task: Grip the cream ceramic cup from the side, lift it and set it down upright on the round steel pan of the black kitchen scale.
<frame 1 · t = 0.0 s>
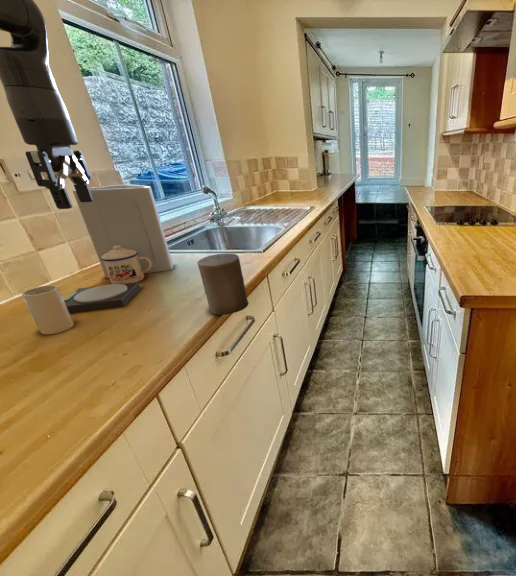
hand: (76, 205, 66), 29 cm above the worktop, tool pointing down, fingers open, 8 cm apart
scale: (101, 300, 90), on the worktop
light grey box: (144, 267, 115), on the worktop
pillar candle: (229, 307, 86), on the worktop
teacup with lid: (134, 280, 104), on the worktop
cup: (57, 327, 76), on the worktop
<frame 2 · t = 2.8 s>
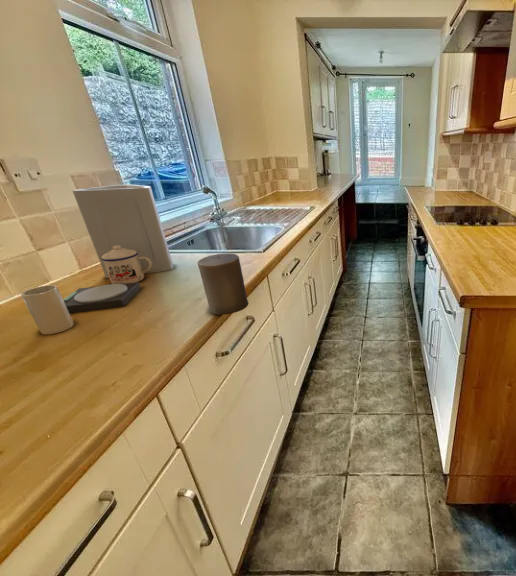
nothing on the worktop moved.
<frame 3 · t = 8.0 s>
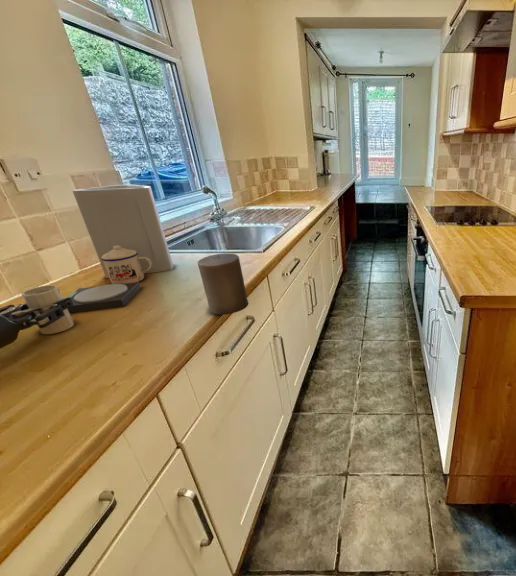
hand: (57, 301, 76), 6 cm above the worktop, tool horizontal, fingers closed on cup, 6 cm apart
cup: (58, 327, 76), on the worktop, touching gripper
everything else where it was.
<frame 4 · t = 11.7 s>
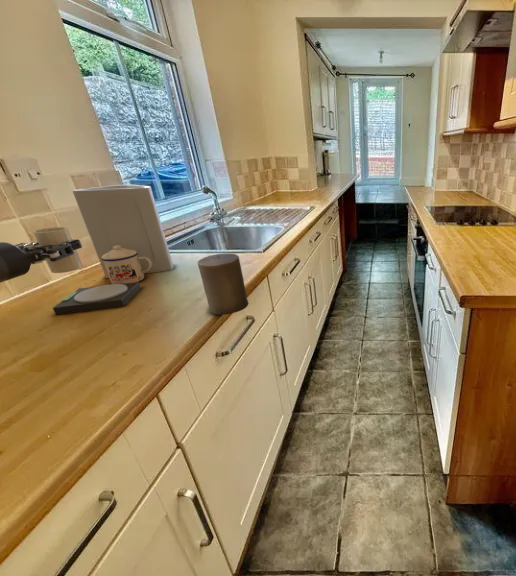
hand: (66, 243, 79), 18 cm above the worktop, tool horizontal, fingers closed on cup, 6 cm apart
cup: (67, 269, 80), point 12 cm above the worktop, touching gripper
everything else where it was.
when the fingers open (9 cm above the worktop, at t = 15.6 s): cup stays where it is, resting on scale.
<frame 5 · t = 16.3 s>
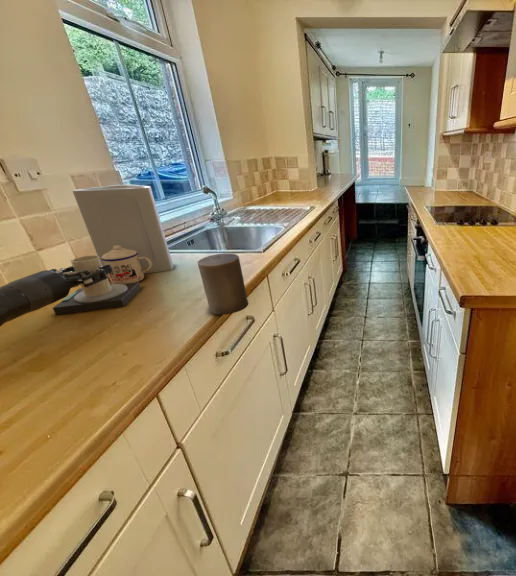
hand: (95, 267, 88), 9 cm above the worktop, tool horizontal, fingers open, 8 cm apart
cup: (98, 292, 89), point 2 cm above the worktop, touching scale
everything else where it was.
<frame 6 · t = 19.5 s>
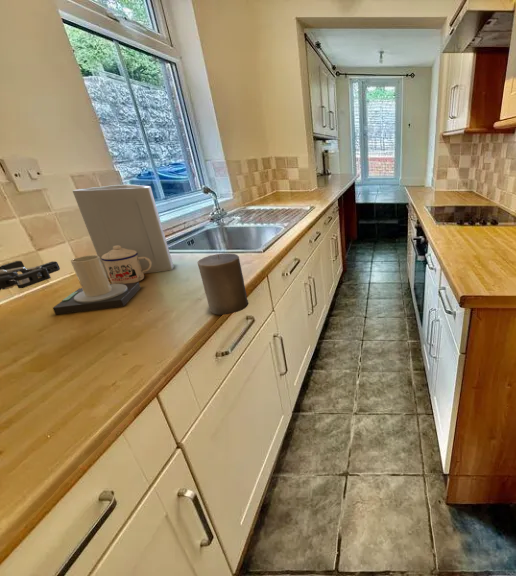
hand: (39, 265, 74), 15 cm above the worktop, tool horizontal, fingers open, 8 cm apart
nothing on the worktop moved.
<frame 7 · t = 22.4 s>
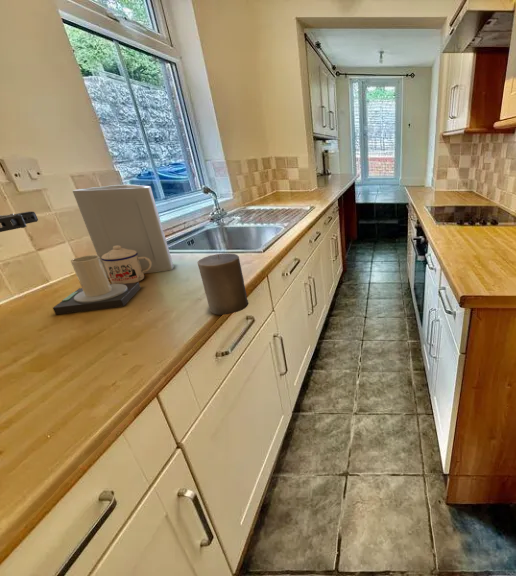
hand: (16, 216, 70), 26 cm above the worktop, tool horizontal, fingers open, 8 cm apart
nothing on the worktop moved.
at the end: cup inside the target area on the scale (0.4 cm from its centre), point 2.5 cm above the scale's base; cup tilted 0°; the gripper is holding nothing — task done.
